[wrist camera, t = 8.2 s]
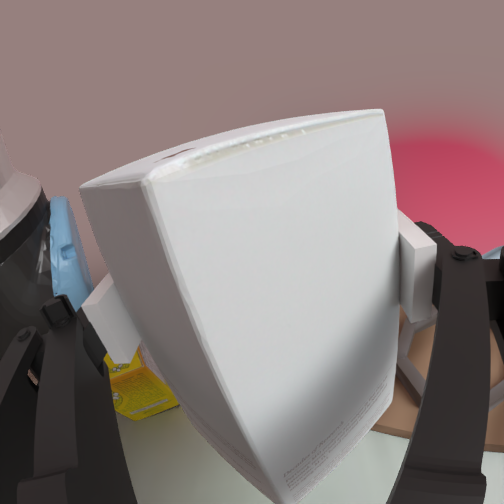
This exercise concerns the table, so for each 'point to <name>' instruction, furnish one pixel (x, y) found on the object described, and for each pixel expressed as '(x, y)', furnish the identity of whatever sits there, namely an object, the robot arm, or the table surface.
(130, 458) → the table surface
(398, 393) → the mount plate
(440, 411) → the robot arm
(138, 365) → the supplement box
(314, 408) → the supplement box
